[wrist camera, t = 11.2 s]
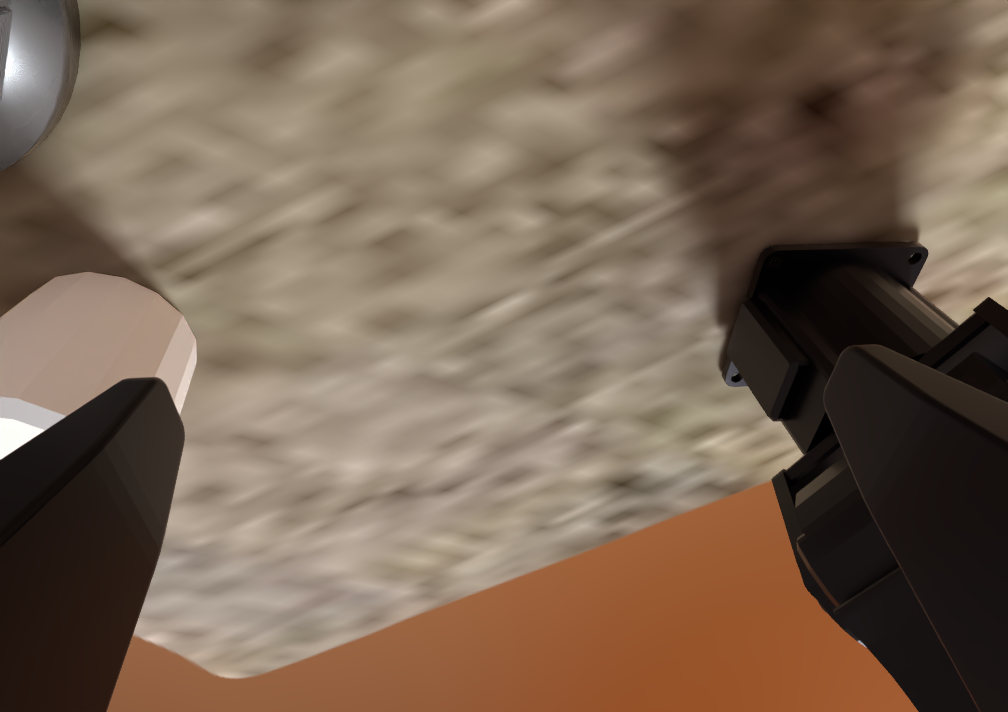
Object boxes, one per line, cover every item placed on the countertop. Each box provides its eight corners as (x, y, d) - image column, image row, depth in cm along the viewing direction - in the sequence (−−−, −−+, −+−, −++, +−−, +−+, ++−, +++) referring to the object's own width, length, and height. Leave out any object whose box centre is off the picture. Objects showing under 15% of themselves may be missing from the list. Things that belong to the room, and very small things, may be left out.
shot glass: (100, 428, 24) (5, 585, 19) (-46, 294, 20) (-223, 445, 15) (251, 377, 24) (199, 525, 18) (131, 227, 19) (16, 359, 14)
